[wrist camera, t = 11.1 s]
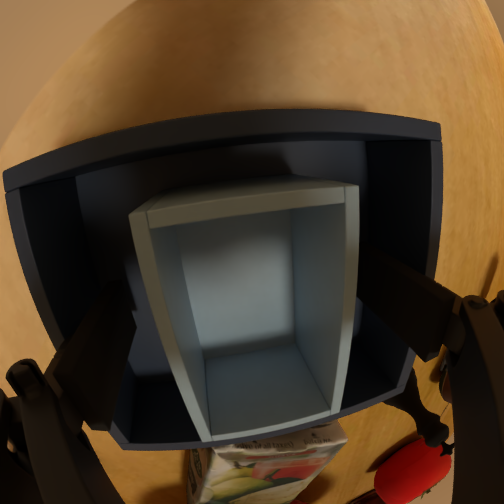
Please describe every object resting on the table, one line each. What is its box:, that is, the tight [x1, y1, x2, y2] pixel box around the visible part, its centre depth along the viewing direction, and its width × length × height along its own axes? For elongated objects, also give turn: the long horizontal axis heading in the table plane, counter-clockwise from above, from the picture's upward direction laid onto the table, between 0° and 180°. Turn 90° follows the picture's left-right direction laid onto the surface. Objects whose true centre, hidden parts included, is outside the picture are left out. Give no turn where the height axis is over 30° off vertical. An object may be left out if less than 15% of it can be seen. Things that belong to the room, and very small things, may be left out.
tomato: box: [374, 438, 451, 504], centre depth 25 cm, size 11×13×10 cm
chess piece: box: [382, 367, 454, 457], centre depth 16 cm, size 4×4×10 cm
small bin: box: [129, 174, 359, 442], centre depth 11 cm, size 10×6×6 cm, turn 6°
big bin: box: [3, 109, 443, 451], centre depth 12 cm, size 15×17×6 cm
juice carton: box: [186, 419, 348, 504], centre depth 17 cm, size 20×10×6 cm, turn 167°
